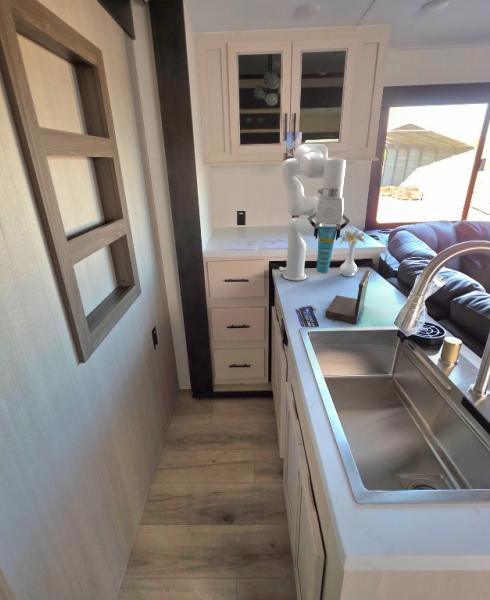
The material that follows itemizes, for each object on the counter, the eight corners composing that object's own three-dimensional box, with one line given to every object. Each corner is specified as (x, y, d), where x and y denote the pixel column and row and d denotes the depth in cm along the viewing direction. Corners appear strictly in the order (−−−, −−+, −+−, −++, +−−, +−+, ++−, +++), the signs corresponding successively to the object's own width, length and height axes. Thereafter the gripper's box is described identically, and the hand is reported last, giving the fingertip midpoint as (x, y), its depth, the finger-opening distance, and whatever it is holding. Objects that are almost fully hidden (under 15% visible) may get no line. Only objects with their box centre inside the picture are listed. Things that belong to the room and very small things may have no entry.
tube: (314, 273, 132) (318, 227, 124) (313, 269, 136) (317, 224, 128) (332, 273, 131) (338, 227, 123) (330, 270, 135) (336, 225, 127)
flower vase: (353, 269, 182) (359, 225, 172) (364, 280, 165) (372, 232, 155) (330, 269, 183) (336, 225, 172) (339, 280, 166) (345, 232, 156)
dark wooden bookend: (325, 317, 126) (329, 279, 120) (335, 301, 141) (340, 266, 134) (356, 324, 121) (363, 285, 114) (364, 306, 135) (370, 271, 129)
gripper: (307, 193, 120) (303, 239, 127) (355, 195, 115) (348, 242, 122) (309, 191, 126) (305, 235, 133) (355, 193, 121) (348, 238, 129)
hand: (326, 238), depth 128 cm, fingers closed on tube, 7 cm apart
